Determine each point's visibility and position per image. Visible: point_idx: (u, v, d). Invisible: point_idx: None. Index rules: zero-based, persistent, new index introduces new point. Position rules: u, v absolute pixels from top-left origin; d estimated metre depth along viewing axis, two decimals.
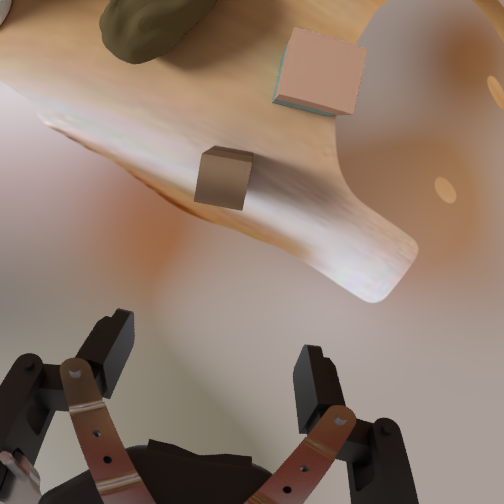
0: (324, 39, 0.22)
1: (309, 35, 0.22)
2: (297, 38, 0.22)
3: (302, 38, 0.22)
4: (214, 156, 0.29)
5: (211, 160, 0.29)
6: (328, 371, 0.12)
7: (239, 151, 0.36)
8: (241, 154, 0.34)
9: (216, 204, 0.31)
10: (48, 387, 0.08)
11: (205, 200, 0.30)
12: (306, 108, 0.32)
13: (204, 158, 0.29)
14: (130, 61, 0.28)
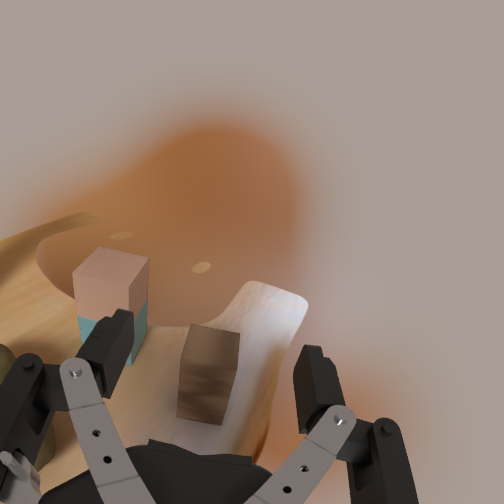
0: (87, 261, 0.31)
1: (81, 267, 0.30)
2: (82, 272, 0.29)
3: (84, 270, 0.30)
4: (184, 349, 0.26)
5: (188, 351, 0.26)
6: (328, 371, 0.12)
7: None
8: None
9: (237, 351, 0.28)
10: (48, 387, 0.08)
11: (233, 359, 0.26)
12: (140, 324, 0.36)
13: (186, 356, 0.25)
14: (46, 448, 0.16)
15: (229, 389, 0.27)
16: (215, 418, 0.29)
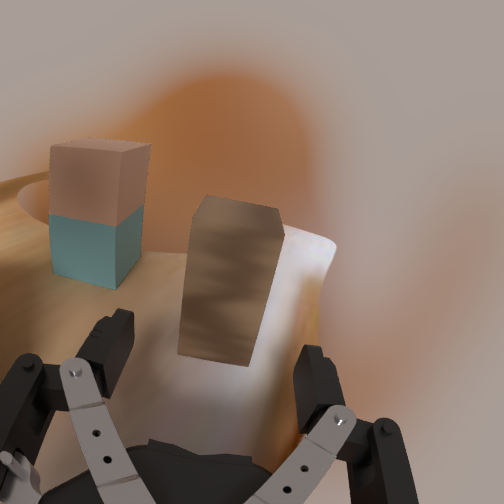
0: (72, 142, 0.22)
1: (63, 143, 0.21)
2: (64, 145, 0.20)
3: (66, 145, 0.21)
4: (197, 211, 0.17)
5: (204, 213, 0.17)
6: (328, 371, 0.12)
7: None
8: None
9: (279, 220, 0.18)
10: (48, 387, 0.08)
11: (276, 226, 0.17)
12: (131, 234, 0.27)
13: (201, 216, 0.16)
14: None
15: (268, 283, 0.18)
16: (240, 352, 0.20)
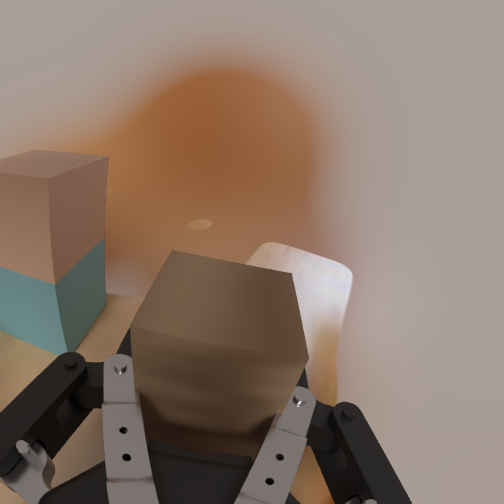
0: (4, 160, 0.14)
1: None
2: None
3: None
4: (145, 302, 0.09)
5: (157, 308, 0.09)
6: None
7: None
8: None
9: (295, 310, 0.10)
10: (86, 389, 0.09)
11: (291, 331, 0.09)
12: (86, 283, 0.19)
13: (147, 321, 0.08)
14: None
15: None
16: None
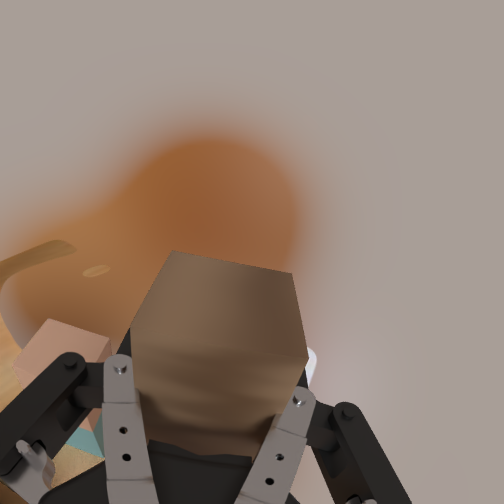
0: (31, 345, 0.20)
1: (23, 356, 0.19)
2: (24, 365, 0.18)
3: (25, 362, 0.18)
4: (145, 302, 0.09)
5: (157, 308, 0.09)
6: None
7: None
8: None
9: (295, 310, 0.10)
10: (86, 389, 0.09)
11: (292, 331, 0.09)
12: None
13: (147, 321, 0.08)
14: None
15: None
16: None
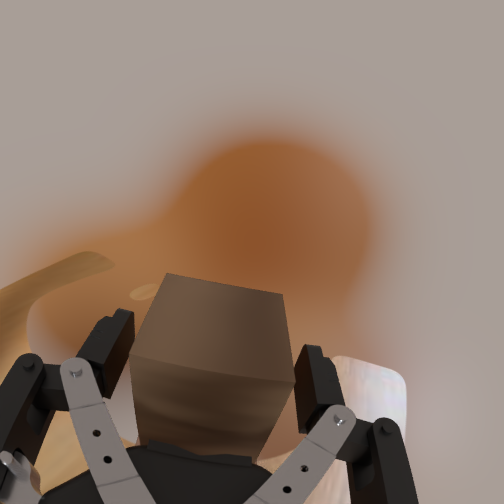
0: None
1: None
2: None
3: None
4: (142, 329, 0.09)
5: (153, 335, 0.09)
6: (328, 371, 0.12)
7: None
8: None
9: (284, 333, 0.11)
10: (48, 387, 0.08)
11: (280, 355, 0.09)
12: None
13: (144, 348, 0.08)
14: None
15: (265, 432, 0.10)
16: None
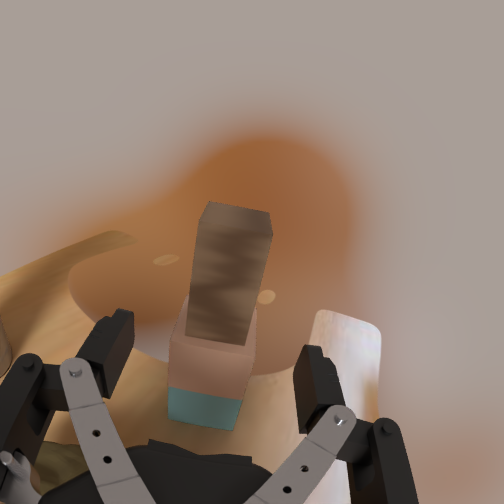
0: (183, 320, 0.26)
1: (179, 330, 0.24)
2: (185, 339, 0.24)
3: (184, 336, 0.24)
4: (202, 215, 0.21)
5: (208, 217, 0.21)
6: (328, 371, 0.12)
7: None
8: None
9: (269, 223, 0.23)
10: (48, 387, 0.08)
11: (266, 227, 0.21)
12: None
13: (205, 220, 0.20)
14: None
15: (260, 274, 0.22)
16: (237, 333, 0.24)
